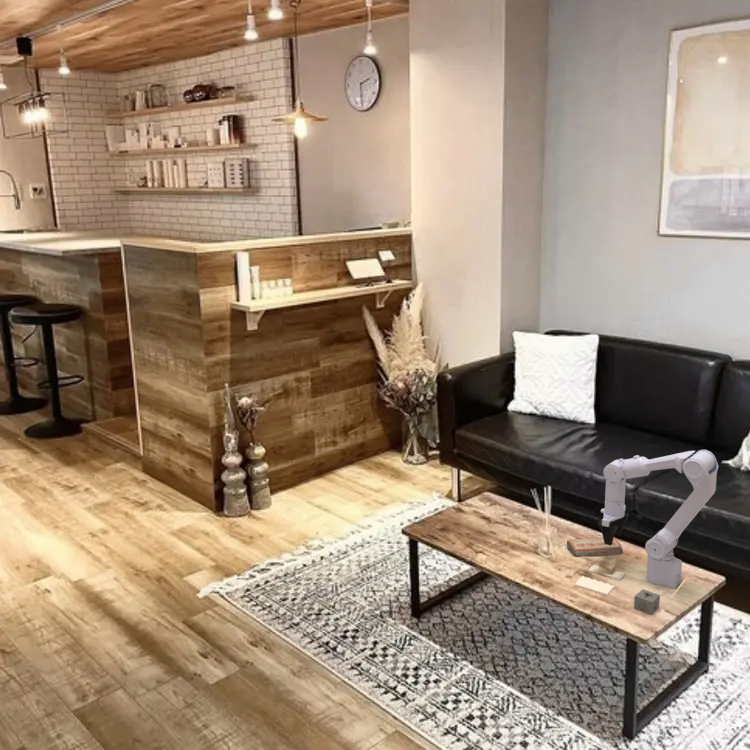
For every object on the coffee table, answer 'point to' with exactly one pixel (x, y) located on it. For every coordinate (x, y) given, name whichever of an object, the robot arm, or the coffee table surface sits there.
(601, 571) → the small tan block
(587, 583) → the board
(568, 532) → the coffee table surface
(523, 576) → the coffee table surface
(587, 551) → the packaged product
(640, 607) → the dice cube
